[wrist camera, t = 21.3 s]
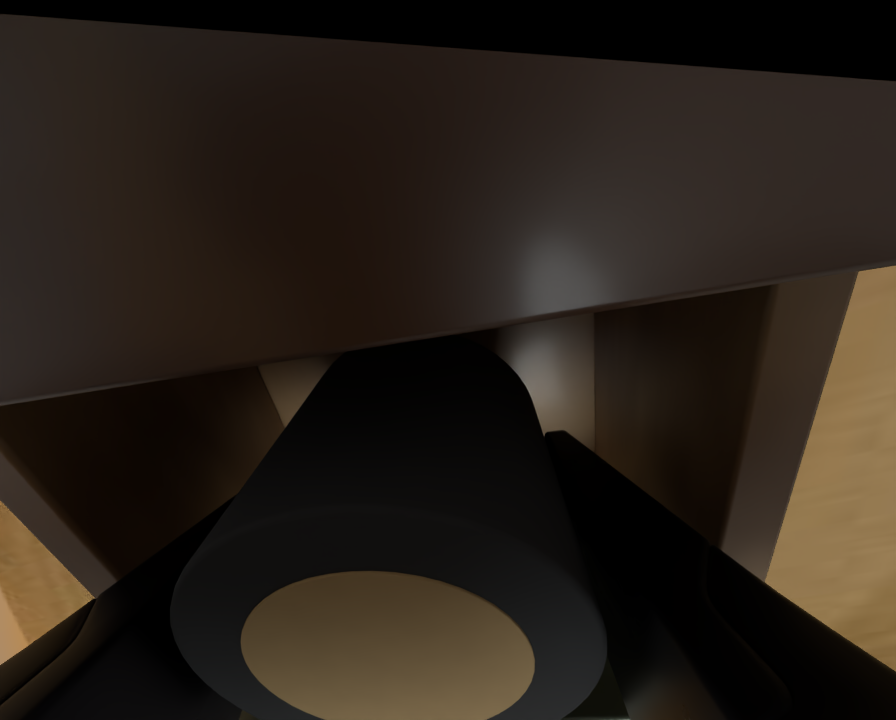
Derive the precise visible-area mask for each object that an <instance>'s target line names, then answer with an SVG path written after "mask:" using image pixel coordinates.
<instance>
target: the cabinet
mask: <svg viewBox="0 0 896 720" xmlns="http://www.w3.org/2000/svg"><path fill="white" fill-rule="evenodd" d="M895 265H896V0H0V406H3V405H9V404H16V403H22V402H28V401H35V400H41V399H47V398H54V397H60V396H67V395H73V394H79V393H86V392H92V391H98V390H105V389H111V388H118V387H124V386H130V385H137V384H143V383H149V382H156V381H162V380H169V379H175V378H181V377H188V376H194V375H200V374H207V373H213V372H220V371H226V370H232V369H239V368H245V367H251V366H258V365H264V364H271V363H277V362H283V361H290V360H296V359H302V358H309V357H315V356H322V355H328V354H334V353H341V352H347V351H353V350H360V349H366V348H373V347H379V346H385V345H392V344H398V343H404V342H411V341H417V340H424V339H430V338H436V337H443V336H449V335H455V334H462V333H468V332H475V331H481V330H487V329H494V328H500V327H506V326H513V325H519V324H526V323H532V322H538V321H545V320H551V319H557V318H564V317H570V316H577V315H583V314H589V313H596V312H602V311H608V310H615V309H621V308H628V307H634V306H640V305H647V304H653V303H659V302H666V301H672V300H679V299H685V298H691V297H698V296H704V295H710V294H717V293H723V292H730V291H736V290H742V289H749V288H755V287H761V286H768V285H774V284H781V283H787V282H793V281H800V280H806V279H812V278H819V277H825V276H832V275H838V274H844V273H851V272H857V271H863V270H870V269H876V268H883V267H889V266H895Z"/></svg>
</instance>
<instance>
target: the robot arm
mask: <svg viewBox="0 0 896 720" xmlns="http://www.w3.org/2000/svg"><path fill="white" fill-rule="evenodd" d="M545 441H546V444H547V447H548V450H549V453H550V456H551V459H552V462H553V465H554V468H555V472H556V475H557V478H558V481H559V484H560V487H561V490H562V493H563V496H564V499H565V502H566V505H567V509H568V512H569V515H570V518H571V521H572V524H573V527H574V530H575V533H576V536H577V539H578V542H579V545H580V549H581V552H582V555H583V558H584V561H585V564H586V567H587V570H588V573H589V576H590V579H591V582H592V586H593V589H594V592H595V595H596V598H597V601H598V604H599V607H600V610H601V613H602V617H603V620H604V623H605V627H606V630H607V657H608V660H609V663H610V665H611V668H612V671H613V673H614V676H615V679H616V682H617V684H618V687H619V690H620V693H621V695H622V698H623V701H624V703H625V706H626V709H627V712H628V714H629V717H630V720H896V672H895V671H894V670H892V669H891V668H889V667H888V666H886V665H885V664H883V663H882V662H880V661H879V660H877V659H876V658H874V657H873V656H871V655H870V654H868V653H867V652H865V651H864V650H862V649H861V648H859V647H858V646H856V645H855V644H853V643H852V642H850V641H849V640H847V639H846V638H844V637H843V636H841V635H840V634H838V633H837V632H835V631H834V630H832V629H831V628H829V627H828V626H826V625H825V624H823V623H822V622H821V621H819V620H818V619H816V618H815V617H813V616H812V615H810V614H809V613H807V612H806V611H804V610H803V609H802V608H800V607H799V606H797V605H796V604H794V603H793V602H791V601H790V600H788V599H787V598H786V597H784V596H783V595H781V594H780V593H778V592H777V591H776V590H774V589H773V588H772V587H770V586H769V585H767V584H766V583H765V582H763V581H762V580H761V579H759V578H758V577H757V576H755V575H754V574H753V573H751V572H750V571H748V570H747V569H746V568H744V567H743V566H742V565H740V564H739V563H738V562H736V561H735V560H734V559H732V558H731V557H730V556H729V555H727V554H726V553H725V552H723V551H722V550H721V549H719V548H718V547H717V546H715V545H711V546H710V542H709V540H707V539H706V538H705V537H703V536H702V535H701V534H700V533H698V532H697V531H696V530H694V529H693V528H692V527H690V526H689V525H688V524H687V523H685V522H684V521H683V520H681V519H680V518H679V517H677V516H676V515H675V514H674V513H672V512H671V511H670V510H668V509H667V508H666V507H664V506H663V505H662V504H661V503H659V502H658V501H657V500H655V499H654V498H653V497H651V496H650V495H649V494H648V493H646V492H645V491H644V490H642V489H641V488H640V487H638V486H637V485H636V484H635V483H633V482H632V481H631V480H629V479H628V478H627V477H625V476H624V475H623V474H622V473H620V472H619V471H618V470H616V469H615V468H614V467H612V466H611V465H610V464H609V463H607V462H606V461H605V460H603V459H602V458H601V457H599V456H598V455H597V454H596V453H594V452H593V451H592V450H590V449H589V448H588V447H586V446H585V445H584V444H583V443H581V442H580V441H579V440H577V439H576V438H575V437H573V436H572V435H571V434H570V433H568V432H567V431H565V430H556V431H548V432H546V433H545ZM237 494H238V493H237ZM237 494H236V495H237ZM236 495H235V496H233V497H232V498H231V499H229V500H228V501H227V502H225V503H224V504H222V505H221V506H220V507H218V508H217V509H216V510H214V511H213V512H212V513H210V514H209V515H207V516H206V517H205V518H203V519H202V520H201V521H199V522H198V523H196V524H195V525H194V526H192V527H191V528H190V529H188V530H187V531H186V532H184V533H183V534H181V535H180V536H179V537H177V538H176V539H175V540H173V541H172V542H171V543H169V544H168V545H166V546H165V547H164V548H162V549H161V550H160V551H158V552H157V553H155V554H154V555H153V556H151V557H150V558H149V559H147V560H146V561H145V562H143V563H142V564H140V565H139V566H138V567H136V568H135V569H134V570H132V571H131V572H130V573H128V574H127V575H125V576H124V577H123V578H121V579H120V580H119V581H117V582H116V583H114V584H113V585H112V586H110V587H109V588H108V589H106V590H105V591H104V592H102V593H101V594H99V596H98V597H97V599H92V600H91V601H90V602H88V603H87V604H86V605H84V606H83V607H82V608H80V609H79V610H77V611H76V612H75V613H73V614H72V615H71V616H69V617H68V618H66V619H65V620H64V621H62V622H61V623H60V624H58V625H57V626H55V627H54V628H53V629H51V630H50V631H48V632H47V633H46V634H44V635H43V636H41V637H40V638H39V639H37V640H36V641H34V642H33V643H32V644H30V645H29V646H28V647H26V648H25V649H23V650H22V651H20V652H19V653H17V654H16V655H14V656H13V657H12V658H10V659H9V660H7V661H6V662H4V663H3V664H1V665H0V720H239V718H240V715H241V712H242V709H240V708H238V707H237V706H235V705H234V704H232V703H231V702H229V701H228V700H226V699H225V698H223V697H222V696H221V695H219V694H218V693H217V692H216V691H214V690H213V689H212V688H211V687H210V686H208V685H207V684H206V683H205V682H204V681H203V680H202V679H201V678H200V677H199V676H198V675H197V674H196V673H195V672H194V671H193V670H192V668H191V667H190V665H189V664H188V663H187V661H186V660H185V659H184V657H183V656H182V654H181V652H180V650H179V648H178V646H177V644H176V642H175V640H174V636H173V632H172V628H171V625H170V605H171V601H172V596H173V592H174V588H175V585H176V583H177V581H178V579H179V577H180V575H181V573H182V571H183V569H184V567H185V566H186V565H187V563H188V562H189V560H190V559H191V558H192V556H193V555H194V553H195V552H196V551H197V549H198V548H199V547H200V545H201V544H202V542H203V541H204V540H205V538H206V537H207V535H208V534H209V533H210V531H211V530H212V529H213V527H214V526H215V524H216V523H217V522H218V520H219V519H220V517H221V516H222V515H223V513H224V512H225V511H226V509H227V508H228V506H229V505H230V504H231V502H232V501H233V499H234V498H235V497H236Z"/></svg>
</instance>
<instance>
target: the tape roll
mask: <svg viewBox="0 0 896 720" xmlns="http://www.w3.org/2000/svg"><path fill="white" fill-rule="evenodd" d="M170 625H171V628H172V632H173V636H174V640H175V642H176V644H177V646H178V648H179V650H180V652H181V654H182V656H183V657H184V659H185V660H186V661H187V663H188V664H189V665H190V667H191V668H192V670H193V671H194V672H195V673H196V674H197V675H198V676H199V677H200V678H201V679H202V680H203V681H204V682H205V683H206V684H207V685H208V686H210V687H211V688H212V689H213V690H214V691H216V692H217V693H218V694H219V695H221V696H222V697H223V698H225V699H226V700H228V701H229V702H231V703H232V704H234V705H235V706H237V707H238V708H240V709H242V710H244V711H245V712H247V713H249V714H251V715H253V716H255V717H256V718H258V719H261V720H560V719H562V718H563V717H565V716H566V715H568V714H569V713H570V712H572V711H573V710H574V709H576V708H577V707H578V706H579V705H580V704H581V703H582V702H583V701H584V700H585V699H586V698H587V697H588V696H589V695H590V693H591V692H592V690H593V689H594V688H595V686H596V685H597V683H598V681H599V679H600V677H601V675H602V672H603V670H604V666H605V661H606V656H607V630H606V627H605V623H604V620H603V617H602V613H601V610H600V607H599V604H598V601H597V598H596V595H595V592H594V589H593V586H592V582H591V579H590V576H589V573H588V570H587V567H586V564H585V561H584V558H583V555H582V552H581V549H580V545H579V542H578V539H577V536H576V533H575V530H574V527H573V524H572V521H571V518H570V515H569V512H568V509H567V505H566V502H565V499H564V496H563V493H562V490H561V487H560V484H559V481H558V478H557V475H556V472H555V468H554V465H553V462H552V459H551V456H550V453H549V450H548V447H547V444H546V441H545V438H544V435H543V432H542V428H541V425H540V422H539V419H538V416H537V413H536V410H535V407H534V404H533V401H532V398H531V396H530V394H529V392H528V390H527V388H526V386H525V384H524V383H523V381H522V380H521V379H520V377H519V376H518V374H517V373H516V372H515V371H514V370H513V369H512V368H511V367H510V366H509V365H508V364H507V363H506V362H505V361H504V360H503V359H501V358H500V357H499V356H498V355H496V354H495V353H493V352H492V351H490V350H489V349H487V348H485V347H484V346H482V345H480V344H478V343H476V342H473V341H471V340H469V339H467V338H463V337H460V336H457V335H449V336H443V337H436V338H430V339H424V340H417V341H411V342H404V343H398V344H392V345H385V346H379V347H373V348H366V349H360V350H353V351H347V352H345V353H343V354H342V355H341V356H340V357H339V358H338V359H337V360H336V361H335V362H333V363H332V365H331V366H330V367H329V368H328V370H327V371H326V372H325V373H324V375H323V376H322V377H321V379H320V380H319V382H318V383H317V384H316V386H315V387H314V389H313V390H312V391H311V393H310V394H309V395H308V397H307V398H306V400H305V401H304V402H303V404H302V405H301V407H300V408H299V409H298V411H297V412H296V413H295V415H294V416H293V418H292V419H291V420H290V422H289V423H288V425H287V426H286V427H285V429H284V430H283V432H282V433H281V434H280V436H279V437H278V438H277V440H276V441H275V443H274V444H273V445H272V447H271V448H270V450H269V451H268V452H267V454H266V455H265V456H264V458H263V459H262V461H261V462H260V463H259V465H258V466H257V468H256V469H255V470H254V472H253V473H252V474H251V476H250V477H249V479H248V480H247V481H246V483H245V484H244V486H243V487H242V488H241V490H240V491H239V492H238V494H237V495H236V497H235V498H234V499H233V501H232V502H231V504H230V505H229V506H228V508H227V509H226V511H225V512H224V513H223V515H222V516H221V517H220V519H219V520H218V522H217V523H216V524H215V526H214V527H213V529H212V530H211V531H210V533H209V534H208V535H207V537H206V538H205V540H204V541H203V542H202V544H201V545H200V547H199V548H198V549H197V551H196V552H195V553H194V555H193V556H192V558H191V559H190V560H189V562H188V563H187V565H186V566H185V567H184V569H183V571H182V573H181V575H180V577H179V579H178V581H177V583H176V585H175V588H174V592H173V596H172V601H171V605H170Z"/></svg>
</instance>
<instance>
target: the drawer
mask: <svg viewBox="0 0 896 720" xmlns="http://www.w3.org/2000/svg"><path fill="white" fill-rule="evenodd" d="M858 272H859V271H857V272H851V273H844V274H838V275H832V276H825V277H819V278H812V279H806V280H800V281H793V282H787V283H781V284H774V285H768V286H761V287H755V288H749V289H742V290H736V291H730V292H723V293H717V294H710V295H704V296H698V297H691V298H685V299H679V300H672V301H666V302H659V303H653V304H647V305H640V306H634V307H628V308H621V309H615V310H608V311H602V312H596V313H589V314H583V315H577V316H570V317H564V318H557V319H551V320H545V321H538V322H532V323H526V324H519V325H513V326H506V327H500V328H494V329H487V330H481V331H475V332H468V333H462V334H455V335H457V336H460V337H463V338H467V339H469V340H471V341H473V342H476V343H478V344H480V345H482V346H484V347H485V348H487V349H489V350H490V351H492V352H493V353H495V354H496V355H498V356H499V357H500V358H501V359H503V360H504V361H505V362H506V363H507V364H508V365H509V366H510V367H511V368H512V369H513V370H514V371H515V372H516V373H517V374H518V376H519V377H520V379H521V380H522V381H523V383H524V384H525V386H526V388H527V390H528V392H529V394H530V396H531V398H532V401H533V404H534V407H535V410H536V413H537V416H538V419H539V422H540V425H541V428H542V432H543V435H544V438H545V433H546V432H548V431H556V430H565V431H567V432H568V433H570V434H571V435H572V436H573V437H575V438H576V439H577V440H579V441H580V442H581V443H583V444H584V445H585V446H586V447H588V448H589V449H590V450H592V451H593V452H594V453H596V454H597V455H598V456H599V457H601V458H602V459H603V460H605V461H606V462H607V463H609V464H610V465H611V466H612V467H614V468H615V469H616V470H618V471H619V472H620V473H622V474H623V475H624V476H625V477H627V478H628V479H629V480H631V481H632V482H633V483H635V484H636V485H637V486H638V487H640V488H641V489H642V490H644V491H645V492H646V493H648V494H649V495H650V496H651V497H653V498H654V499H655V500H657V501H658V502H659V503H661V504H662V505H663V506H664V507H666V508H667V509H668V510H670V511H671V512H672V513H674V514H675V515H676V516H677V517H679V518H680V519H681V520H683V521H684V522H685V523H687V524H688V525H689V526H690V527H692V528H693V529H694V530H696V531H697V532H698V533H700V534H701V535H702V536H703V537H705V538H706V539H707V540H709V542H710V546H711V545H715V546H717V547H718V548H719V549H721V550H722V551H723V552H725V553H726V554H727V555H729V556H730V557H731V558H732V559H734V560H735V561H736V562H738V563H739V564H740V565H742V566H743V567H744V568H746V569H747V570H748V571H750V572H751V573H753V574H754V575H755V576H757V577H758V578H759V579H761V580H762V581H763V582H765V579H766V576H767V572H768V569H769V566H770V563H771V559H772V556H773V553H774V549H775V546H776V543H777V539H778V536H779V533H780V530H781V526H782V523H783V520H784V516H785V513H786V510H787V506H788V503H789V500H790V496H791V493H792V490H793V487H794V483H795V480H796V477H797V473H798V470H799V467H800V463H801V460H802V457H803V453H804V450H805V447H806V444H807V440H808V437H809V434H810V430H811V427H812V424H813V420H814V417H815V414H816V410H817V407H818V404H819V401H820V397H821V394H822V391H823V387H824V384H825V381H826V377H827V374H828V371H829V367H830V364H831V361H832V358H833V354H834V351H835V348H836V344H837V341H838V338H839V334H840V331H841V328H842V324H843V321H844V318H845V315H846V311H847V308H848V305H849V301H850V298H851V295H852V291H853V288H854V285H855V281H856V278H857V275H858ZM343 353H345V352H341V353H334V354H328V355H322V356H315V357H309V358H302V359H296V360H290V361H283V362H277V363H271V364H264V365H258V366H251V367H245V368H239V369H232V370H226V371H220V372H213V373H207V374H200V375H194V376H188V377H181V378H175V379H169V380H162V381H156V382H149V383H143V384H137V385H130V386H124V387H118V388H111V389H105V390H98V391H92V392H86V393H79V394H73V395H67V396H60V397H54V398H47V399H41V400H35V401H28V402H22V403H16V404H9V405H3V406H0V500H1V501H2V502H3V503H4V504H5V506H6V507H7V508H8V509H9V510H10V511H11V512H12V513H13V514H14V515H15V516H16V517H17V518H18V519H19V520H20V521H21V522H22V523H23V524H24V525H25V526H26V527H27V528H28V529H29V530H30V531H31V532H32V533H33V534H34V535H35V536H36V538H37V539H38V540H39V541H40V542H41V543H42V544H43V545H44V546H45V547H46V548H47V549H48V550H49V551H50V552H51V553H52V554H53V555H54V556H55V557H56V558H57V559H58V560H59V561H60V562H61V563H62V564H63V565H64V566H65V567H66V568H67V570H68V571H69V572H70V573H71V574H72V575H73V576H74V577H75V578H76V579H77V580H78V581H79V582H80V583H81V584H82V585H83V586H84V587H85V588H86V589H87V590H88V591H89V592H90V593H91V594H92V595H93V596H94V597H95V598H96V599H97V597H98V596H99V594H101V593H102V592H104V591H105V590H106V589H108V588H109V587H110V586H112V585H113V584H114V583H116V582H117V581H119V580H120V579H121V578H123V577H124V576H125V575H127V574H128V573H130V572H131V571H132V570H134V569H135V568H136V567H138V566H139V565H140V564H142V563H143V562H145V561H146V560H147V559H149V558H150V557H151V556H153V555H154V554H155V553H157V552H158V551H160V550H161V549H162V548H164V547H165V546H166V545H168V544H169V543H171V542H172V541H173V540H175V539H176V538H177V537H179V536H180V535H181V534H183V533H184V532H186V531H187V530H188V529H190V528H191V527H192V526H194V525H195V524H196V523H198V522H199V521H201V520H202V519H203V518H205V517H206V516H207V515H209V514H210V513H212V512H213V511H214V510H216V509H217V508H218V507H220V506H221V505H222V504H224V503H225V502H227V501H228V500H229V499H231V498H232V497H233V496H235V495H236V494H237V493H238V492H239V491H240V490H241V488H242V487H243V486H244V484H245V483H246V481H247V480H248V479H249V477H250V476H251V474H252V473H253V472H254V470H255V469H256V468H257V466H258V465H259V463H260V462H261V461H262V459H263V458H264V456H265V455H266V454H267V452H268V451H269V450H270V448H271V447H272V445H273V444H274V443H275V441H276V440H277V438H278V437H279V436H280V434H281V433H282V432H283V430H284V429H285V427H286V426H287V425H288V423H289V422H290V420H291V419H292V418H293V416H294V415H295V413H296V412H297V411H298V409H299V408H300V407H301V405H302V404H303V402H304V401H305V400H306V398H307V397H308V395H309V394H310V393H311V391H312V390H313V389H314V387H315V386H316V384H317V383H318V382H319V380H320V379H321V377H322V376H323V375H324V373H325V372H326V371H327V370H328V368H329V367H330V366H331V365H332V363H333V362H335V361H336V360H337V359H338V358H339V357H340V356H341V355H342V354H343ZM239 720H261V719H258V718H256V717H255V716H253V715H251V714H249V713H247V712H245V711H244V710H242V712H241V715H240V718H239ZM560 720H630V717H629V714H628V712H627V709H626V706H625V703H624V701H623V698H622V695H621V693H620V690H619V687H618V684H617V682H616V679H615V676H614V673H613V671H612V668H611V665H610V663H609V660H608V657H607V656H606V661H605V666H604V670H603V672H602V675H601V677H600V679H599V681H598V683H597V685H596V686H595V688H594V689H593V690H592V692H591V693H590V695H589V696H588V697H587V698H586V699H585V700H584V701H583V702H582V703H581V704H580V705H579V706H578V707H577V708H576V709H574V710H573V711H572V712H570V713H569V714H568V715H566V716H565V717H563V718H562V719H560Z"/></svg>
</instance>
